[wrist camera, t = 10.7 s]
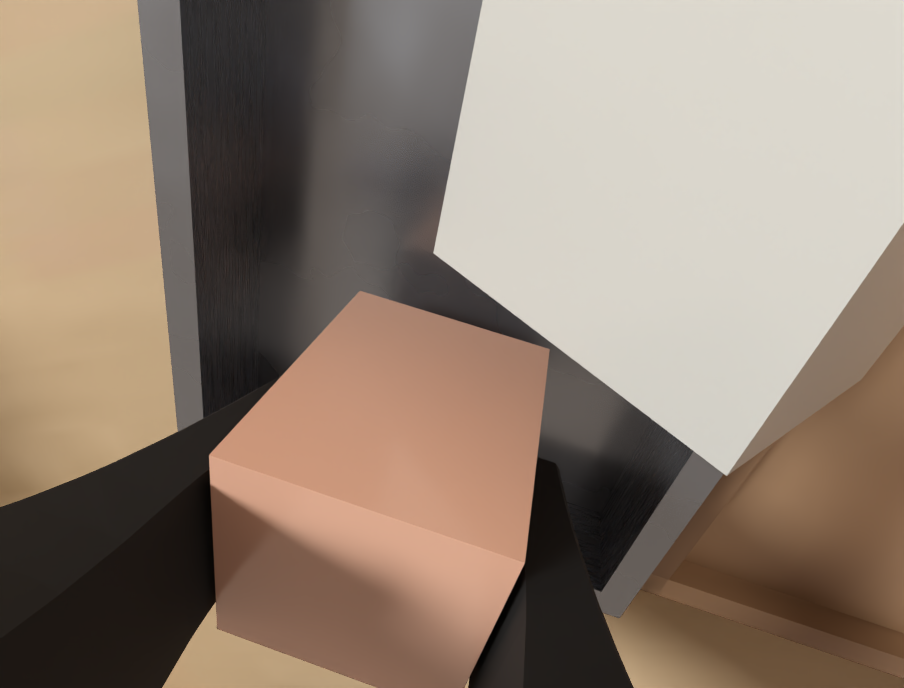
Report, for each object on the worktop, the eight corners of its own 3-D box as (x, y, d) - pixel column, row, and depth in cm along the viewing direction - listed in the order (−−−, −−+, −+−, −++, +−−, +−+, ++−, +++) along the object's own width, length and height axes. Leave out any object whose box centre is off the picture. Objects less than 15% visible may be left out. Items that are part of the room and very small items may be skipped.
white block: (681, 1, 8) (1108, 66, 5) (594, 235, 10) (860, 380, 7) (496, -69, 6) (1078, -28, 3) (433, 253, 8) (726, 476, 5)
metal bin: (957, -56, 8) (1140, -104, 5) (613, 520, 15) (619, 618, 12) (248, -222, 8) (106, -333, 6) (246, 398, 16) (181, 467, 13)
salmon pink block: (550, 349, 10) (524, 562, 6) (496, 485, 12) (450, 714, 8) (360, 290, 11) (208, 455, 6) (339, 433, 13) (217, 628, 8)
